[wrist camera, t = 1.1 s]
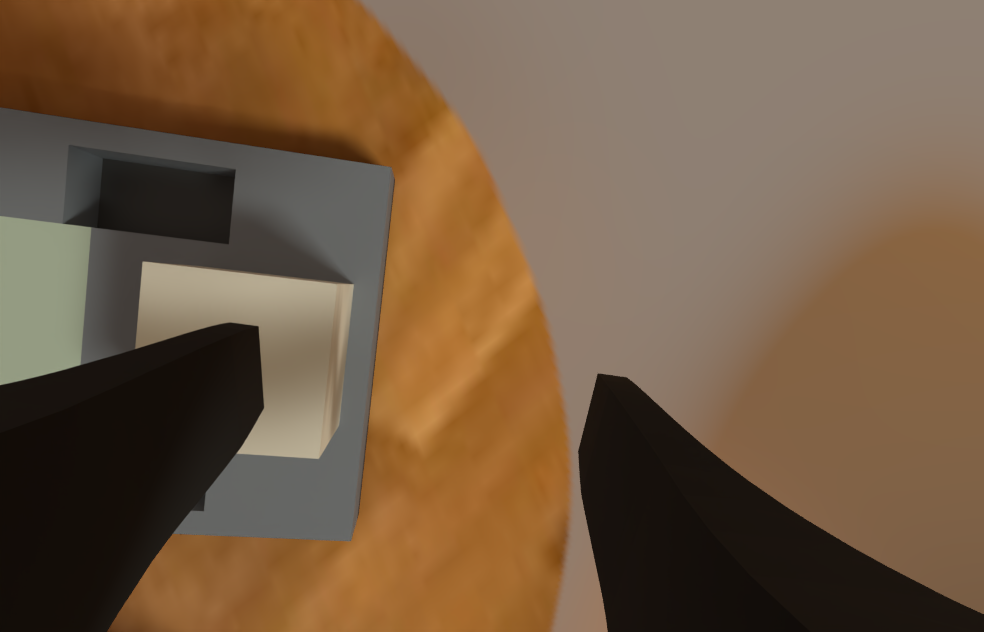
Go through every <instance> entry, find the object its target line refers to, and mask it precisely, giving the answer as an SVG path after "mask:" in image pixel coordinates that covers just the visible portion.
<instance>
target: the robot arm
mask: <svg viewBox="0 0 984 632" xmlns="http://www.w3.org/2000/svg"><path fill="white" fill-rule="evenodd" d="M263 409H264V397H263V382H262V368H261V353H260V338H259V326H253V325H246V324H239V323H232V322H229V323H223V324H218V325H214V326H210V327H206V328H202V329H199V330H195V331H192V332H189V333H185V334H182V335H179V336H176V337H172V338H169V339H166V340H163V341H159V342H156V343H153V344H150V345H147V346H143V347H140V348H137V349H134V350H131V351H127V352H124V353H121V354H117V355H114V356H110V357H107V358H103V359H100V360H96V361H93V362H89V363H86V364H82V365H79V366H75V367H72V368H68V369H65V370H61V371H57V372H53V373H49V374H46V375H42V376H38V377H33V378H29V379H25V380H21V381H17V382H12V383H7V384H3V385H0V632H107V631H108V629H109V627H110V626H111V624H112V622H113V621H114V619H115V618H116V616H117V614H118V613H119V611H120V610H121V608H122V607H123V605H124V603H125V602H126V600H127V599H128V597H129V596H130V594H131V593H132V591H133V590H134V588H135V587H136V585H137V584H138V582H139V580H140V579H141V577H142V576H143V574H144V573H145V571H146V570H147V568H148V567H149V565H150V564H151V562H152V561H153V559H154V558H155V557H156V555H157V554H158V553H159V551H160V550H161V548H162V547H163V546H164V544H165V543H166V542H167V540H168V539H169V538H170V536H171V535H172V534H173V533H174V531H175V530H176V529H177V528H178V526H179V525H180V524H181V523H182V521H183V520H184V519H185V518H186V516H187V515H188V514H189V513H190V511H191V510H192V509H193V508H194V506H195V505H196V504H197V503H198V501H199V500H200V499H201V498H202V496H203V495H204V494H205V493H206V492H207V490H208V489H209V488H210V487H211V485H212V484H213V483H214V482H215V480H216V479H217V478H218V477H219V475H220V474H221V473H222V471H223V470H224V469H225V468H226V466H227V465H228V464H229V463H230V461H231V460H232V459H233V457H234V456H235V455H236V454H237V452H238V451H239V450H240V448H241V447H242V445H243V444H244V442H245V440H246V439H247V437H248V435H249V434H250V432H251V431H252V429H253V427H254V425H255V424H256V422H257V420H258V418H259V416H260V415H261V413H262V411H263ZM578 454H579V471H580V484H581V495H582V500H583V505H584V510H585V515H586V520H587V525H588V530H589V535H590V539H591V544H592V549H593V553H594V559H595V563H596V568H597V573H598V577H599V582H600V587H601V592H602V597H603V603H604V609H605V614H606V621H607V629H608V632H984V614H981V613H979V612H977V611H975V610H973V609H971V608H968V607H966V606H964V605H962V604H960V603H958V602H956V601H953V600H951V599H949V598H947V597H945V596H943V595H941V594H939V593H937V592H935V591H934V590H932V589H930V588H928V587H926V586H924V585H922V584H920V583H918V582H916V581H914V580H912V579H910V578H908V577H906V576H905V575H903V574H900V573H899V572H897V571H895V570H893V569H891V568H889V567H887V566H885V565H883V564H882V563H880V562H878V561H876V560H874V559H873V558H871V557H869V556H867V555H865V554H863V553H862V552H860V551H858V550H856V549H854V548H853V547H851V546H849V545H847V544H846V543H844V542H842V541H841V540H839V539H837V538H836V537H834V536H833V535H831V534H829V533H827V532H826V531H824V530H823V529H821V528H819V527H817V526H816V525H814V524H813V523H811V522H809V521H807V520H806V519H804V518H803V517H801V516H800V515H798V514H797V513H795V512H793V511H792V510H790V509H789V508H787V507H785V506H784V505H783V504H781V503H780V502H778V501H777V500H775V499H774V498H773V497H771V496H770V495H768V494H767V493H765V492H764V491H762V490H761V489H760V488H758V487H757V486H755V485H754V484H752V483H751V482H749V481H748V480H747V479H745V478H744V477H743V476H741V475H740V474H739V473H737V472H736V471H735V470H733V469H732V468H731V467H730V466H728V465H727V464H725V463H724V462H723V461H722V460H721V459H720V458H718V457H717V456H716V455H715V454H713V453H712V452H711V451H710V450H708V449H707V448H706V447H705V446H703V445H702V444H701V443H700V442H699V441H698V440H696V439H695V438H694V437H693V436H692V435H691V434H690V433H688V432H687V431H686V430H685V429H684V428H683V427H682V426H681V425H679V424H678V423H677V422H676V421H675V420H674V419H673V418H672V417H671V416H669V415H668V414H667V413H666V412H665V411H664V410H663V409H662V408H661V407H660V406H659V405H658V404H656V403H655V402H654V401H653V400H652V399H651V398H650V397H649V396H648V395H647V394H646V393H644V392H643V391H642V390H641V389H640V388H639V387H638V386H637V385H636V384H634V383H633V382H632V381H630V380H629V379H628V378H626V377H620V376H613V375H605V374H598V375H597V379H596V383H595V387H594V391H593V395H592V399H591V403H590V407H589V411H588V415H587V419H586V423H585V427H584V431H583V435H582V439H581V443H580V447H579V451H578Z"/></svg>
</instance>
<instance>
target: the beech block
mask: <svg viewBox="0 0 984 632" xmlns="http://www.w3.org/2000/svg"><path fill="white" fill-rule="evenodd" d="M353 289H354V284H348V283H339V282H331V281H322V280H313V279H305V278H296V277H288V276H279V275H271V274H262V273H254V272H245V271H237V270H228V269H220V268H211V267H203V266H192V265H180V264H167V263H155V262H143V263H142V275H141V287H140V299H139V311H138V322H137V334H136V346H135V349H137V348H140V347H143V346H147V345H150V344H153V343H156V342H159V341H163V340H166V339H169V338H172V337H176V336H179V335H182V334H185V333H189V332H192V331H195V330H199V329H202V328H206V327H210V326H214V325H218V324H223V323H229V322H232V323H239V324H246V325H253V326H259V338H260V353H261V368H262V382H263V397H264V409H263V411H262V413H261V415H260V416H259V418H258V420H257V422H256V424H255V425H254V427H253V429H252V431H251V432H250V434H249V435H248V437H247V439H246V440H245V442H244V444H243V445H242V447H241V448H240V450H239V451H238V452H237V454H251V455H266V456H282V457H297V458H312V459H319V458H320V456H321V455H322V453H323V451H324V450H325V448H326V446H327V445H328V443H329V441H330V440H331V438H332V436H333V435H334V433H335V431H336V430H337V428H338V426H339V421H340V412H341V402H342V393H343V383H344V374H345V364H346V355H347V345H348V336H349V326H350V317H351V307H352V298H353Z"/></svg>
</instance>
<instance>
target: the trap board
mask: <svg viewBox="0 0 984 632" xmlns="http://www.w3.org/2000/svg"><path fill="white" fill-rule="evenodd" d="M394 183H395V179H394V175H393V172H392V168H391V167H386V166H380V165H373V164H367V163H360V162H353V161H347V160H340V159H334V158H327V157H321V156H314V155H308V154H301V153H295V152H288V151H282V150H275V149H269V148H262V147H255V146H249V145H242V144H236V143H229V142H223V141H216V140H210V139H203V138H197V137H190V136H184V135H177V134H170V133H164V132H157V131H151V130H144V129H138V128H131V127H125V126H118V125H112V124H105V123H99V122H92V121H85V120H79V119H72V118H66V117H59V116H53V115H46V114H40V113H33V112H27V111H20V110H14V109H7V108H1V107H0V385H3V384H7V383H12V382H17V381H21V380H25V379H29V378H33V377H38V376H42V375H46V374H49V373H53V372H57V371H61V370H65V369H68V368H72V367H75V366H79V365H82V364H86V363H89V362H93V361H96V360H100V359H103V358H107V357H110V356H114V355H117V354H121V353H124V352H127V351H131V350H134V349H135V346H136V334H137V322H138V311H139V299H140V287H141V275H142V263H143V262H155V263H167V264H180V265H192V266H203V267H211V268H220V269H228V270H237V271H245V272H254V273H262V274H271V275H279V276H288V277H296V278H305V279H313V280H322V281H331V282H339V283H348V284H354V289H353V298H352V307H351V317H350V326H349V336H348V345H347V355H346V364H345V374H344V383H343V393H342V402H341V412H340V421H339V426H338V428H337V430H336V431H335V433H334V435H333V436H332V438H331V440H330V441H329V443H328V445H327V446H326V448H325V450H324V451H323V453H322V455H321V456H320V458H319V459H312V458H297V457H282V456H266V455H251V454H236V455H235V456H234V457H233V459H232V460H231V461H230V463H229V464H228V465H227V466H226V468H225V469H224V470H223V471H222V473H221V474H220V475H219V477H218V478H217V479H216V480H215V482H214V483H213V484H212V485H211V487H210V488H209V489H208V490H207V492H206V493H205V494H204V495H203V496H202V498H201V499H200V500H199V501H198V503H197V504H196V505H195V506H194V508H193V509H192V510H191V511H190V513H189V514H188V515H187V516H186V518H185V519H184V520H183V521H182V523H181V524H180V525H179V526H178V528H177V529H176V530H175V531H174V533H173V534H192V535H216V536H240V537H263V538H287V539H311V540H334V541H351V539H352V535H353V532H354V528H355V525H356V521H357V518H358V514H359V505H360V496H361V487H362V478H363V469H364V459H365V450H366V441H367V432H368V423H369V413H370V404H371V395H372V386H373V377H374V367H375V358H376V349H377V340H378V331H379V321H380V312H381V303H382V294H383V284H384V275H385V266H386V257H387V248H388V238H389V229H390V220H391V211H392V202H393V192H394Z"/></svg>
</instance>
